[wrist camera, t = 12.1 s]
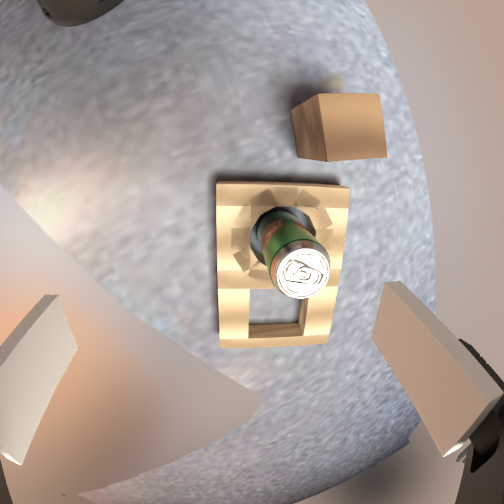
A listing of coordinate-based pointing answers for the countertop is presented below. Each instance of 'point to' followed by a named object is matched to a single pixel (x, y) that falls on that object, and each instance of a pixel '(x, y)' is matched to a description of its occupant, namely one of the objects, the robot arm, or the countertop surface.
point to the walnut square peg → (339, 127)
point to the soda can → (293, 256)
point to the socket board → (254, 267)
